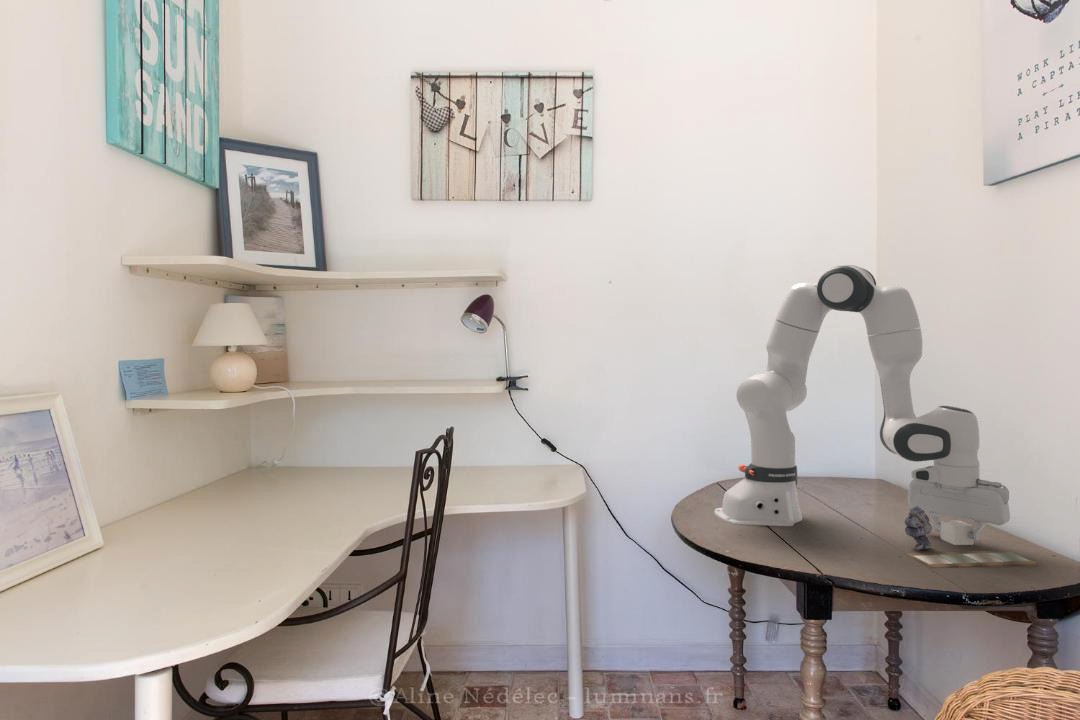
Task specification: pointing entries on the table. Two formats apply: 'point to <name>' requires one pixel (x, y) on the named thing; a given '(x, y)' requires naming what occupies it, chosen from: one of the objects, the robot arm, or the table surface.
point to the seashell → (918, 527)
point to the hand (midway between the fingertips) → (956, 534)
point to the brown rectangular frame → (972, 559)
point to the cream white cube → (956, 532)
